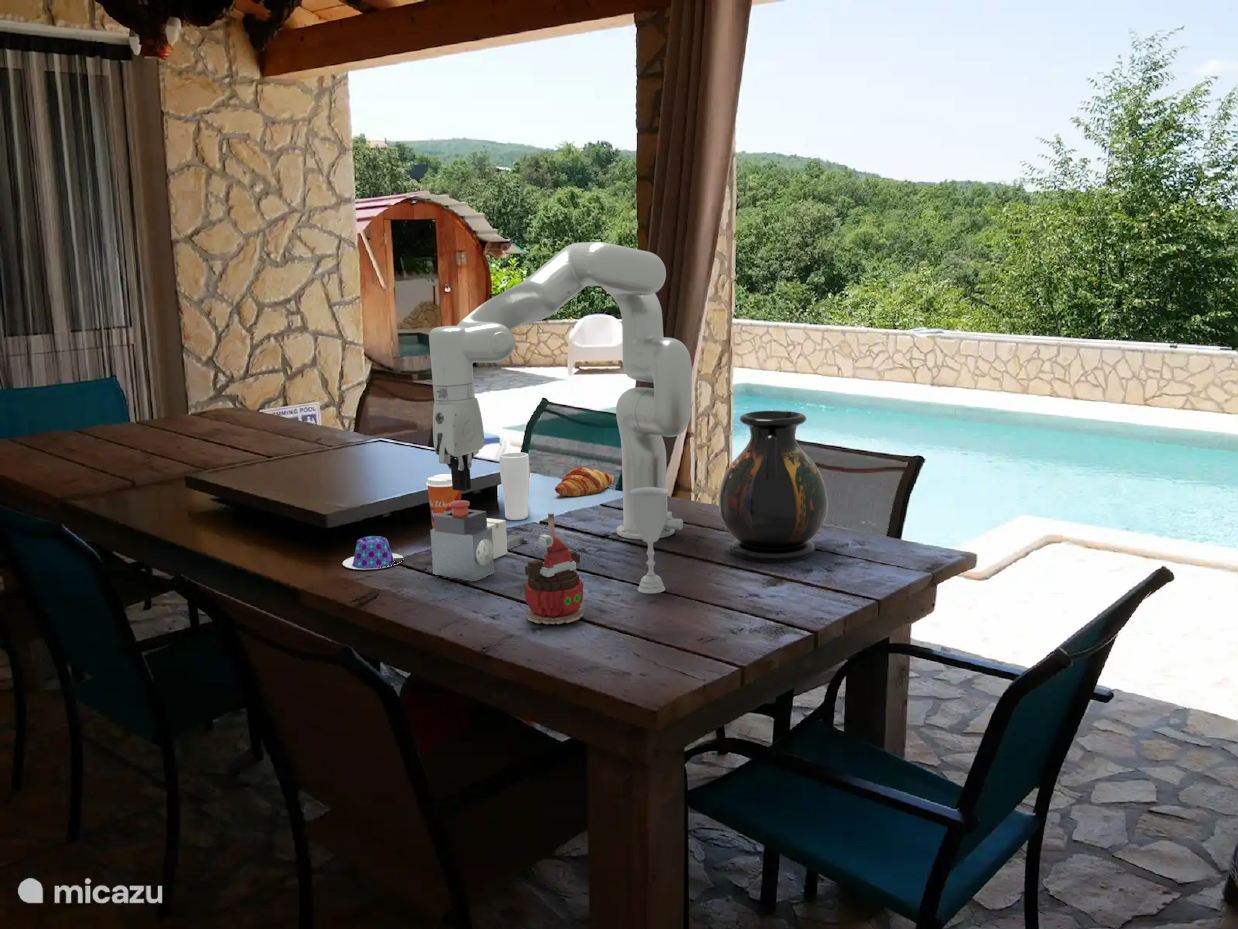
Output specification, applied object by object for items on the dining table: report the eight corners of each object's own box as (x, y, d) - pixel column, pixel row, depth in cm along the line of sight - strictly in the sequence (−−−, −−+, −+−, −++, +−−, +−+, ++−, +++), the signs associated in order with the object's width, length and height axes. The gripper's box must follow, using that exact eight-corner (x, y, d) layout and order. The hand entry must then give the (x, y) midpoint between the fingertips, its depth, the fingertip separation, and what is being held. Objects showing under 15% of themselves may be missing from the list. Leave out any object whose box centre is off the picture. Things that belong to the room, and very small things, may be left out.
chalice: (676, 592, 192) (674, 493, 188) (639, 597, 190) (637, 497, 186) (662, 581, 199) (660, 485, 195) (627, 585, 197) (624, 489, 193)
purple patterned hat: (333, 563, 217) (331, 538, 216) (387, 552, 225) (386, 528, 224) (358, 576, 208) (356, 550, 207) (414, 564, 215) (412, 539, 214)
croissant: (604, 496, 288) (593, 468, 289) (630, 482, 281) (618, 454, 282) (549, 509, 272) (538, 480, 273) (575, 495, 265) (564, 465, 266)
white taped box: (507, 553, 220) (506, 519, 219) (490, 560, 215) (488, 526, 213) (481, 549, 223) (480, 516, 222) (464, 557, 218) (462, 523, 217)
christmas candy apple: (561, 605, 187) (557, 503, 183) (597, 617, 180) (594, 512, 177) (512, 620, 180) (507, 515, 176) (548, 633, 173) (543, 524, 169)
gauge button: (474, 524, 205) (473, 501, 204) (462, 529, 202) (461, 505, 201) (459, 523, 207) (458, 499, 206) (447, 527, 204) (446, 503, 203)
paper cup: (422, 544, 230) (418, 479, 227) (440, 535, 237) (436, 472, 234) (455, 546, 227) (451, 481, 224) (472, 537, 234) (468, 474, 231)
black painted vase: (828, 570, 203) (829, 423, 197) (713, 567, 207) (712, 423, 201) (827, 540, 224) (828, 406, 218) (723, 538, 227) (722, 407, 222)
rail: (529, 543, 228) (529, 535, 228) (483, 562, 214) (483, 554, 214) (510, 540, 230) (510, 533, 230) (463, 559, 217) (463, 552, 216)
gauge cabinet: (497, 573, 207) (494, 512, 204) (475, 583, 201) (471, 520, 198) (454, 566, 212) (450, 507, 210) (431, 576, 206) (427, 515, 204)
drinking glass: (526, 522, 246) (524, 457, 244) (498, 521, 248) (495, 457, 245) (535, 515, 253) (532, 452, 250) (507, 514, 254) (504, 452, 252)
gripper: (444, 400, 192) (453, 500, 195) (494, 388, 204) (501, 482, 208) (412, 398, 195) (420, 497, 199) (462, 387, 208) (470, 479, 212)
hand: (462, 489), depth 204 cm, fingers closed
